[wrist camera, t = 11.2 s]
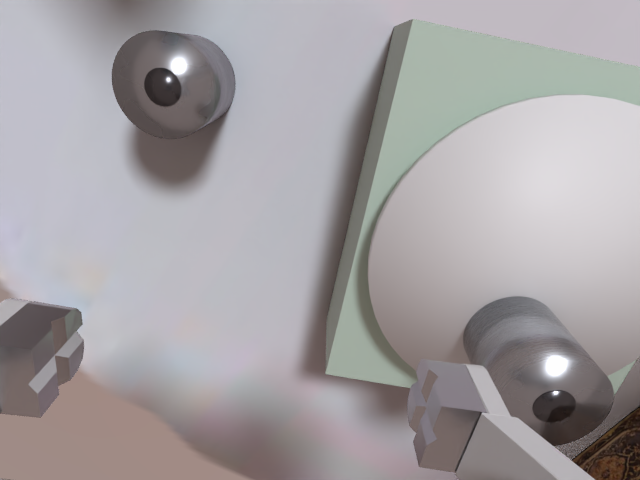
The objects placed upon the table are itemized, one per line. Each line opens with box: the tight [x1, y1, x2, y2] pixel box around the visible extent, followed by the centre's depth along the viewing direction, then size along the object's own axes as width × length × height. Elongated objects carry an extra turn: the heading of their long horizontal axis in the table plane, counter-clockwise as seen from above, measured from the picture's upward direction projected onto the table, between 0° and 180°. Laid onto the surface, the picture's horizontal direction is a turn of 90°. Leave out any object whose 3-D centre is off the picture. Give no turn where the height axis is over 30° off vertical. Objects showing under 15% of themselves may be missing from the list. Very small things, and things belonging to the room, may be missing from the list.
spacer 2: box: [463, 296, 614, 446], centre depth 21 cm, size 5×5×5 cm
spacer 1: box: [112, 31, 235, 139], centre depth 23 cm, size 5×5×5 cm
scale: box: [325, 19, 640, 395], centre depth 25 cm, size 18×21×8 cm
